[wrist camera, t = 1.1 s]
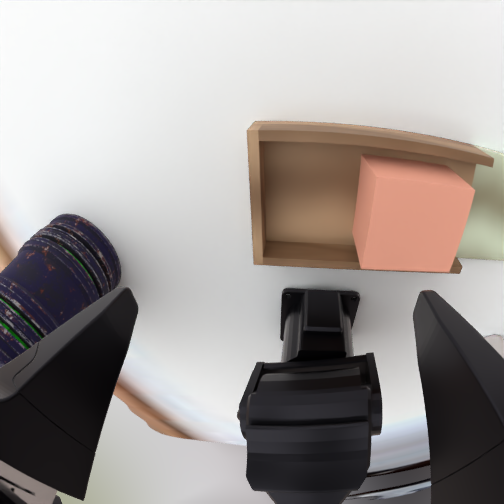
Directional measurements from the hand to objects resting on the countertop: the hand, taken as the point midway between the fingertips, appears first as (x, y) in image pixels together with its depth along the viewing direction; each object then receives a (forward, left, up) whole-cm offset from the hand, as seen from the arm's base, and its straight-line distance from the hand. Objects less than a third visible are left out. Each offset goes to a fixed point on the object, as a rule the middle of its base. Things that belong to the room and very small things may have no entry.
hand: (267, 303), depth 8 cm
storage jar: (-8, +20, -12) cm, 25 cm away
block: (-1, -8, -11) cm, 14 cm away
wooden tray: (-1, -10, -12) cm, 16 cm away
